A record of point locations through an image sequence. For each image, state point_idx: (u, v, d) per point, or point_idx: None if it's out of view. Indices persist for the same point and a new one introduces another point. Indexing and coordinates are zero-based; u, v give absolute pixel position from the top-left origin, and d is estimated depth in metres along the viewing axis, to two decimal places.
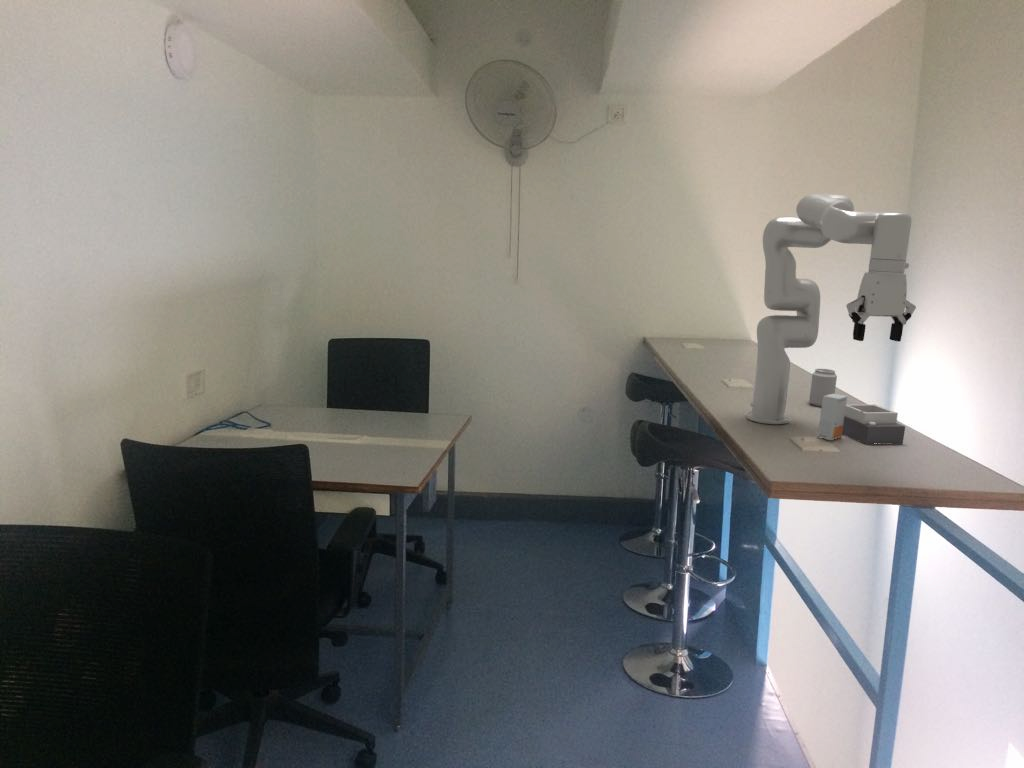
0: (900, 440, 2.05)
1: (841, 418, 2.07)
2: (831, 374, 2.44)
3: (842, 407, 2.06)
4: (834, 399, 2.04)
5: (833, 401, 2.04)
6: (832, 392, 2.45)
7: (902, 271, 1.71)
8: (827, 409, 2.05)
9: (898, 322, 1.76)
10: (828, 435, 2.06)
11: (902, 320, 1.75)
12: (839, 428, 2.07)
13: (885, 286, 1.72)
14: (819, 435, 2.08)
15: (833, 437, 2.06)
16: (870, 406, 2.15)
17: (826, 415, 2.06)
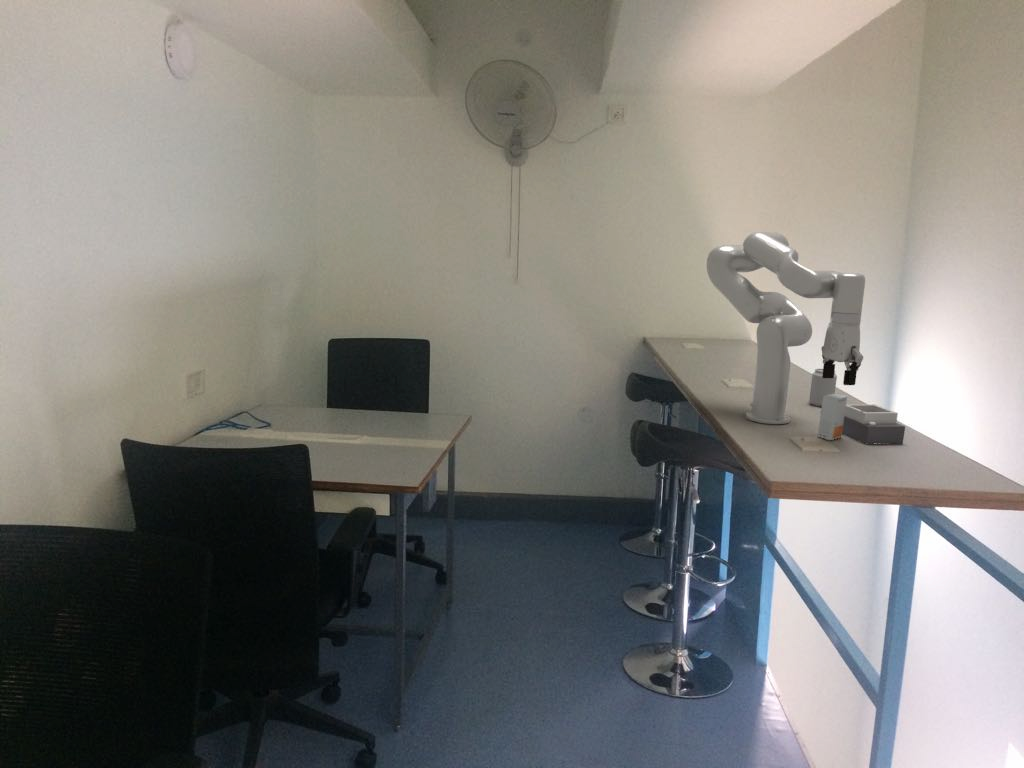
0: (900, 440, 2.05)
1: (841, 418, 2.07)
2: None
3: (842, 407, 2.06)
4: (834, 399, 2.04)
5: (833, 401, 2.04)
6: (832, 392, 2.45)
7: None
8: (827, 409, 2.05)
9: (831, 362, 2.09)
10: (828, 435, 2.06)
11: None
12: (839, 428, 2.07)
13: None
14: (819, 435, 2.08)
15: (833, 437, 2.06)
16: (870, 406, 2.15)
17: (826, 415, 2.06)
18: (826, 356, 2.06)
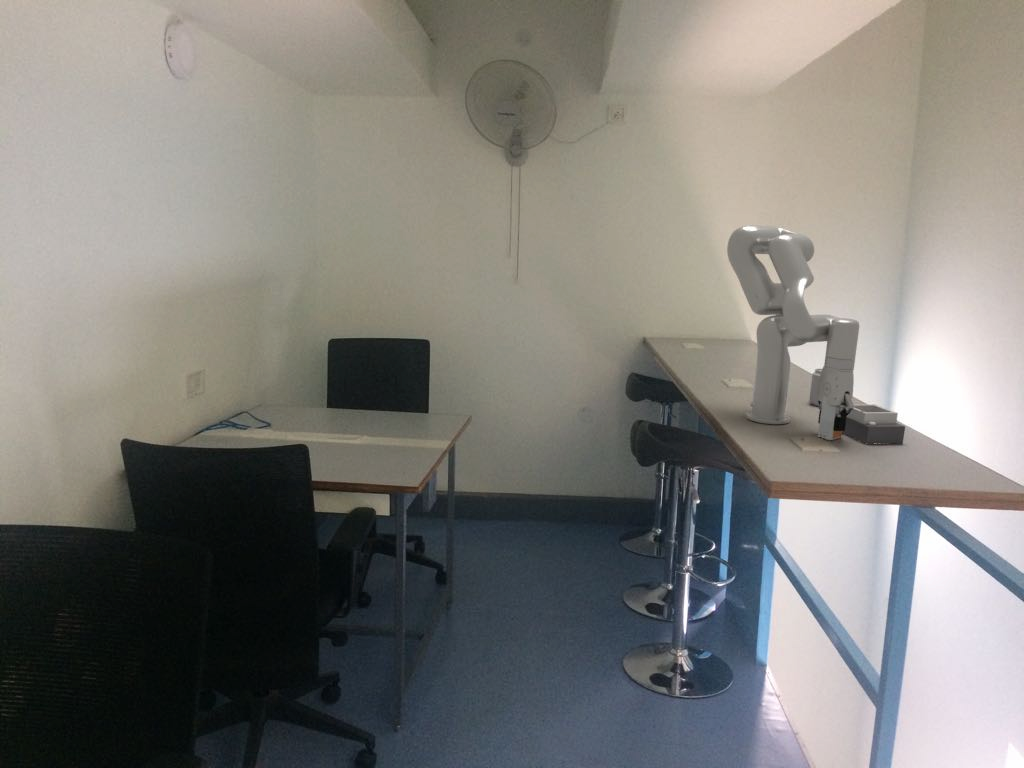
0: (900, 440, 2.05)
1: None
2: None
3: None
4: None
5: None
6: None
7: None
8: (827, 409, 2.05)
9: None
10: (829, 435, 2.06)
11: None
12: None
13: None
14: (819, 435, 2.08)
15: (833, 437, 2.06)
16: (870, 406, 2.15)
17: (826, 415, 2.06)
18: (820, 399, 2.09)
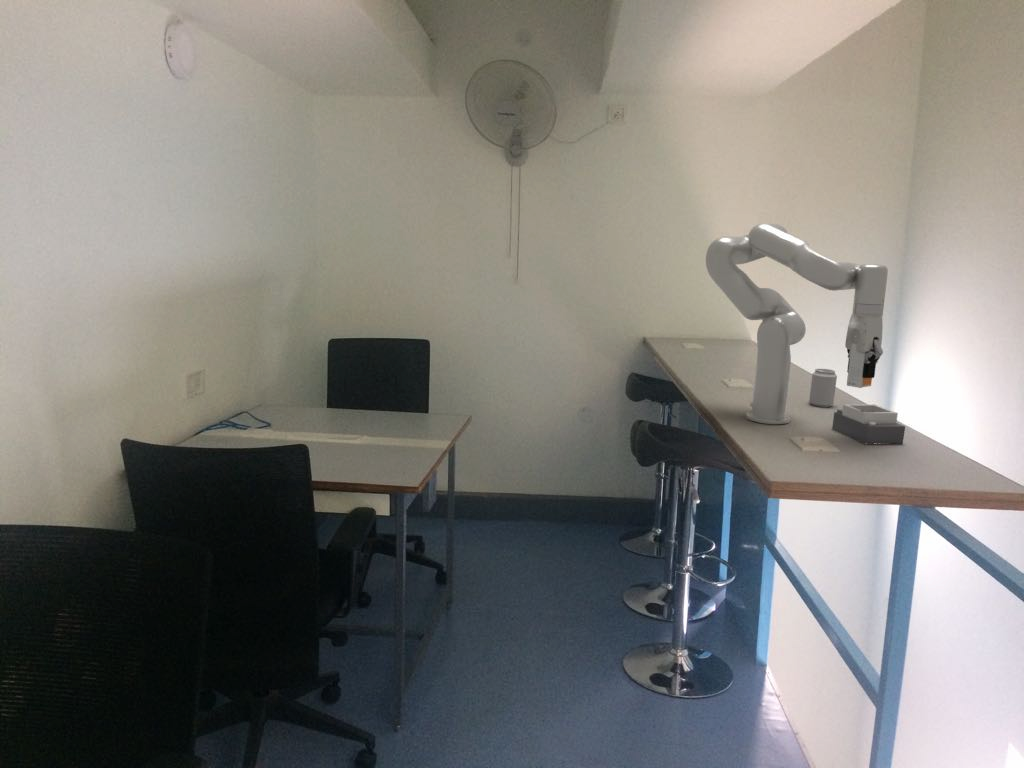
0: (900, 440, 2.05)
1: None
2: (831, 374, 2.44)
3: None
4: None
5: None
6: (832, 392, 2.45)
7: None
8: (856, 357, 2.04)
9: None
10: (858, 382, 2.04)
11: None
12: None
13: None
14: (848, 383, 2.06)
15: (862, 384, 2.04)
16: (870, 406, 2.15)
17: (854, 363, 2.04)
18: (849, 347, 2.07)
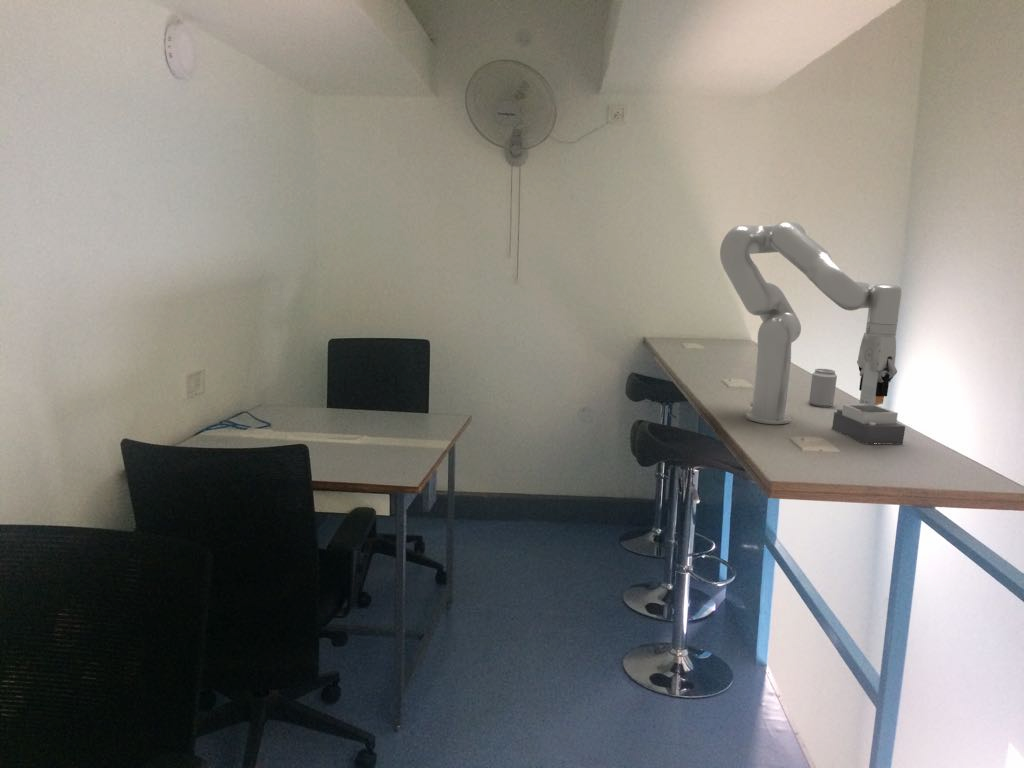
0: (900, 440, 2.05)
1: None
2: (831, 374, 2.44)
3: None
4: None
5: None
6: (832, 392, 2.45)
7: None
8: (869, 375, 2.06)
9: None
10: (871, 400, 2.07)
11: None
12: None
13: None
14: (861, 401, 2.09)
15: (875, 403, 2.07)
16: (870, 406, 2.15)
17: (868, 381, 2.07)
18: (861, 366, 2.10)
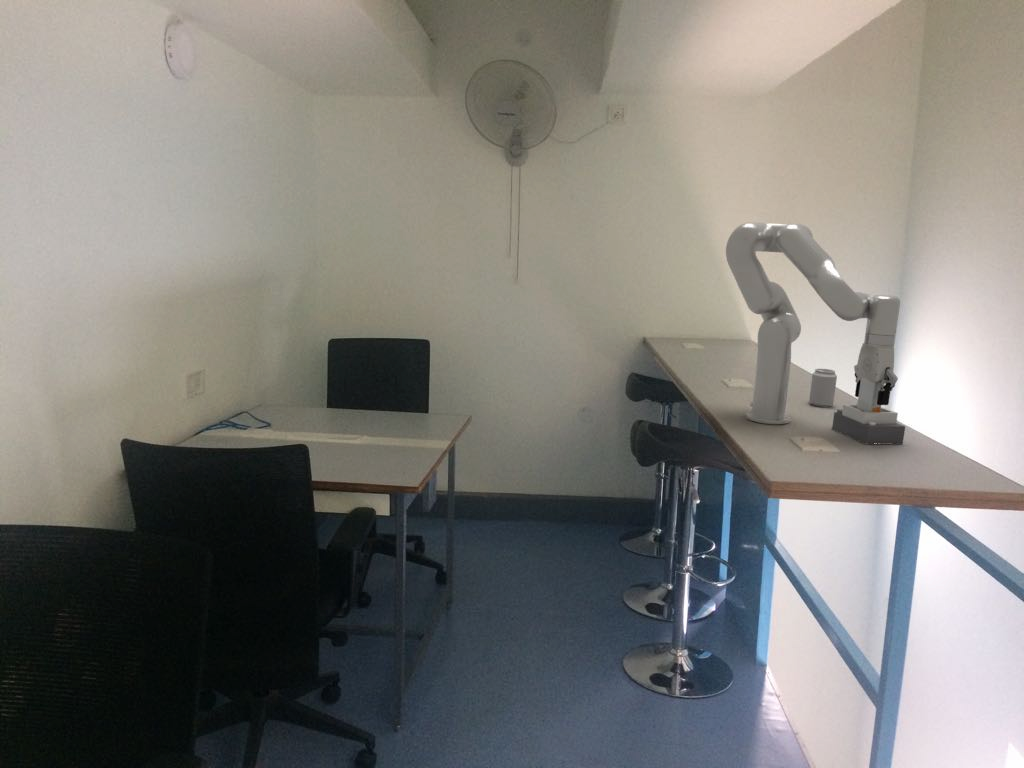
0: (900, 440, 2.05)
1: None
2: (831, 374, 2.44)
3: None
4: None
5: None
6: (832, 392, 2.45)
7: None
8: (865, 390, 2.08)
9: None
10: None
11: None
12: (877, 409, 2.09)
13: None
14: None
15: None
16: None
17: (863, 396, 2.08)
18: (859, 376, 2.10)
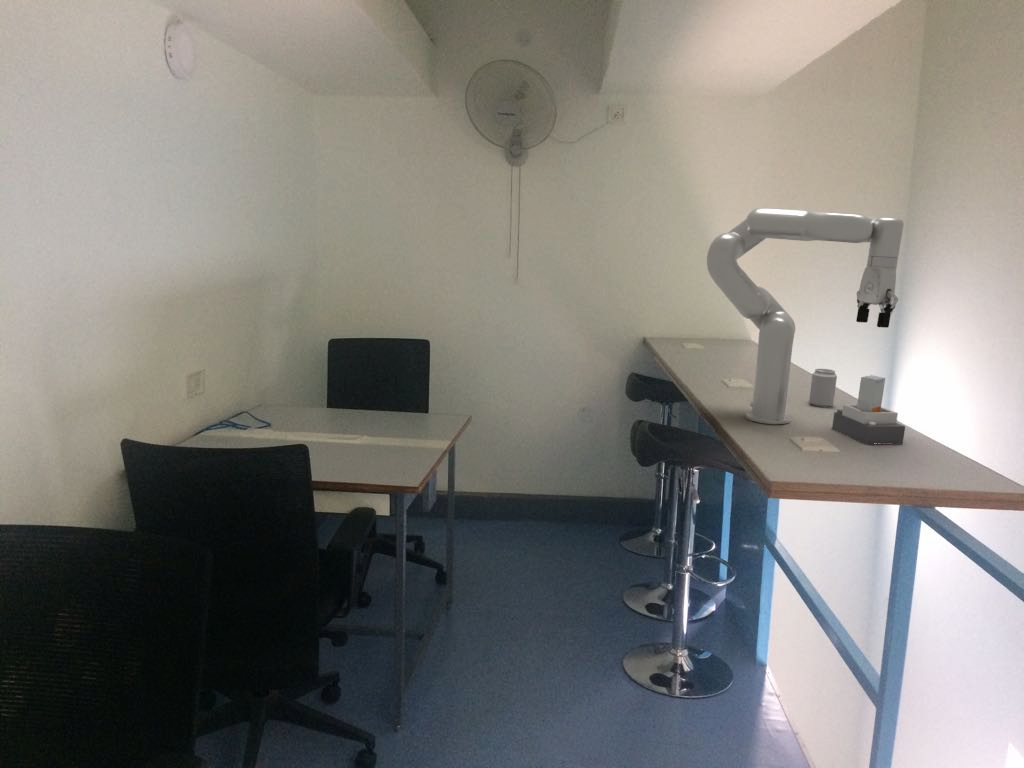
0: (900, 440, 2.05)
1: (879, 399, 2.09)
2: (831, 374, 2.44)
3: (880, 388, 2.08)
4: (872, 380, 2.06)
5: (871, 381, 2.06)
6: (832, 392, 2.45)
7: None
8: (865, 390, 2.08)
9: (866, 307, 2.15)
10: None
11: None
12: (877, 409, 2.09)
13: None
14: None
15: None
16: None
17: (863, 396, 2.08)
18: (861, 300, 2.12)
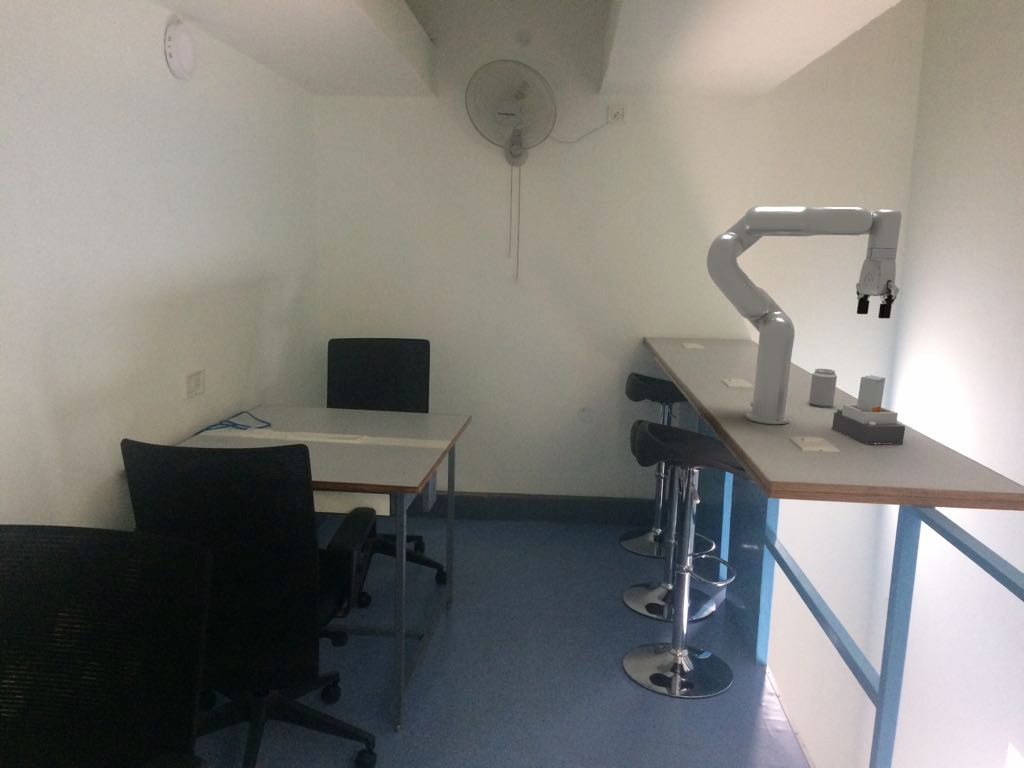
0: (900, 440, 2.05)
1: (879, 399, 2.09)
2: (831, 374, 2.44)
3: (880, 388, 2.08)
4: (872, 380, 2.06)
5: (871, 381, 2.06)
6: (832, 392, 2.45)
7: None
8: (865, 390, 2.08)
9: (866, 298, 2.16)
10: None
11: None
12: (877, 409, 2.09)
13: None
14: None
15: None
16: None
17: (863, 396, 2.08)
18: (861, 291, 2.13)
